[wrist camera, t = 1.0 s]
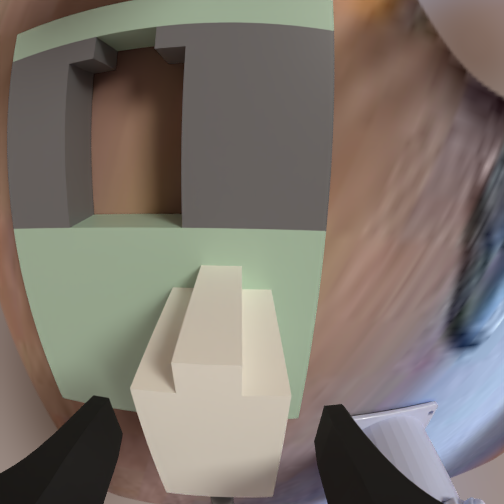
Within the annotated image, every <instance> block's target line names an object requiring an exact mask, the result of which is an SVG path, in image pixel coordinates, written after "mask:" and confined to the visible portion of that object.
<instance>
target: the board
mask: <svg viewBox="0 0 504 504" xmlns="http://www.w3.org/2000/svg"><path fill="white" fill-rule="evenodd" d="M152 46H155V50H156V51H157V52H158V53H159V54H160V55H161V56H162V57H163V58H164V59H165V60H166V61H167V62H168V64H176V63H185V64H184V82H183V105H182V145H181V195H182V214H96V215H94V206H93V190H92V167H91V116H92V94H93V79H94V74H96V73H102V72H108V71H114V70H116V64H117V54H118V51H123V50H129V49H136V48H144V47H152ZM333 115H334V17H333V1H332V0H133V1H127V2H122V3H117V4H112V5H108V6H103V7H99V8H95V9H91V10H87V11H84V12H80V13H77V14H73V15H70V16H67V17H63V18H60V19H57V20H54V21H51V22H48V23H46V24H43V25H40V26H37V27H35V28H32V29H30V30H27V31H25V32H22V33H20V34H18V35H17V40H16V45H15V51H14V57H13V64H12V72H11V80H10V90H9V103H8V124H7V159H8V180H9V193H10V203H11V212H12V220H13V228H14V234H15V240H16V246H17V252H18V257H19V262H20V267H21V272H22V276H23V281H24V285H25V289H26V293H27V297H28V301H29V304H30V308H31V312H32V315H33V318H34V322H35V325H36V328H37V331H38V334H39V337H40V340H41V343H42V346H43V349H44V352H45V355H46V357H47V360H48V363H49V365H50V368H51V371H52V373H53V376H54V378H55V380H56V383H57V385H58V388H59V390H60V392H61V394H62V397H63V398H66V399H70V400H74V401H79V402H84V403H86V402H87V401H88V400H89V399H90V398H91V397H92V396H93V395H95V396H101V397H107V398H109V399H110V402H111V405H112V408H115V409H121V410H128V411H135V412H137V411H136V407H135V404H134V401H133V397H132V394H131V390H130V387H131V385H132V382H133V380H134V377H135V375H136V372H137V370H138V367H139V365H140V362H141V360H142V357H143V355H144V353H145V350H146V348H147V345H148V343H149V341H150V338H151V336H152V334H153V331H154V329H155V327H156V324H157V322H158V320H159V318H160V315H161V313H162V311H163V308H164V306H165V304H166V302H167V299H168V297H169V295H170V293H171V291H172V288H173V287H179V288H194V286H195V283H196V280H197V276H198V273H199V270H200V267H201V265H215V266H242V289H266V290H272V296H273V301H274V306H275V311H276V316H277V322H278V327H279V332H280V337H281V342H282V348H283V353H284V358H285V364H286V369H287V374H288V380H289V385H290V391H291V401H290V408H289V414H288V419H292V418H298V417H299V412H300V407H301V401H302V396H303V391H304V385H305V380H306V374H307V369H308V363H309V357H310V351H311V345H312V338H313V332H314V325H315V318H316V311H317V304H318V296H319V289H320V281H321V273H322V264H323V255H324V246H325V236H326V226H327V215H328V203H329V190H330V176H331V160H332V141H333Z"/></svg>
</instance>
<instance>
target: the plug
mask: <svg viewBox="0 0 504 504" xmlns="http://www.w3.org/2000/svg"><path fill="white" fill-rule="evenodd" d="M130 390H131V394H132V397H133V401H134V404H135V407H136V411H137V414H138V417H139V420H140V423H141V426H142V429H143V432H144V435H145V438H146V441H147V444H148V447H149V449H150V452H151V455H152V458H153V460H154V463H155V465H156V468H157V470H158V473H159V475H160V478H161V480H162V483H163V485H164V488H165V490H166V492H168V493H176V494H186V495H197V496H210V497H211V502H212V504H234V502H233V497H273V493H274V488H275V483H276V478H277V473H278V468H279V463H280V458H281V453H282V448H283V442H284V437H285V431H286V425H287V420H288V414H289V408H290V401H291V391H290V385H289V380H288V374H287V369H286V364H285V358H284V353H283V348H282V342H281V337H280V332H279V327H278V322H277V316H276V311H275V306H274V301H273V296H272V290H266V289H242V266H215V265H201V267H200V270H199V273H198V276H197V280H196V283H195V286H194V288H179V287H173V288H172V291H171V293H170V295H169V297H168V299H167V302H166V304H165V306H164V308H163V311H162V313H161V315H160V318H159V320H158V322H157V324H156V327H155V329H154V331H153V334H152V336H151V338H150V341H149V343H148V345H147V348H146V350H145V353H144V355H143V357H142V360H141V362H140V365H139V367H138V370H137V372H136V375H135V377H134V380H133V382H132V385H131V387H130Z"/></svg>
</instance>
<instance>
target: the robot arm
mask: <svg viewBox="0 0 504 504" xmlns="http://www.w3.org/2000/svg"><path fill="white" fill-rule="evenodd" d="M437 407H438V404H437V403H436V402H435V401H433V402H429V403H424V404H420V405H415V406H410V407H406V408H400V409H395V410H390V411H384V412H378V413H371V414H365V415H357V416H351V415H350V414H349V412H348V411H347V410H346V408H345V407H344V406H343V405H342V404H339V405H329V406H324V409H323V412H322V416H321V420H320V423H319V427H318V430H317V434H316V437H315V440H314V442H315V450H316V458H317V465H318V469H319V473H320V477H321V481H322V484H323V488H324V492H325V495H326V499H327V503H328V504H485V503H484V501H483V500H482V499H474V498H469V499H467V500H466V501H463V500H461V499H460V498H459V496H458V494H457V492H456V490H455V488H454V485H453V484H452V481H451V479H450V477H449V475H448V473H447V471H446V469H445V467H444V465H443V463H442V461H441V459H440V457H439V456H438V454H437V452H436V450H435V448H434V446H433V444H432V442H431V440H430V438H429V436H428V435H427V433H426V431H425V429H426V427H427V425H428V423H429V422H430V420H431V418H432V416H433V414H434V413H435V411H436V409H437ZM122 434H123V433H122V431H121V428H120V426H119V423H118V421H117V418H116V416H115V413H114V410H113V408H112V405H111V402H110V399H109V398H107V397H101V396H95V395H93V396H92V397H91V398H90V399H89V400H88V401H87V402H86V403H85V404H84V405H83V406H82V407H81V408H80V409H79V410H78V411H77V412H76V413H75V414H74V415H73V416H72V417H71V418H70V419H69V420H68V421H67V422H66V423H65V424H64V425H63V426H62V427H61V428H60V429H59V430H58V431H56V433H55V434H53V435H52V436H51V437H50V438H49V439H48V440H47V441H45V442H44V443H43V444H42V445H41V446H40V447H39V448H37V449H36V450H35V451H33V452H32V453H31V454H30V455H28V456H27V457H26V458H24V459H23V460H21V461H20V462H18V463H17V464H16V465H14V466H12V467H11V468H9V469H7V470H5V471H4V472H2V473H0V504H103V503H104V500H105V497H106V494H107V491H108V487H109V484H110V481H111V478H112V475H113V472H114V469H115V466H116V463H117V460H118V456H119V451H120V446H121V440H122Z"/></svg>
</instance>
